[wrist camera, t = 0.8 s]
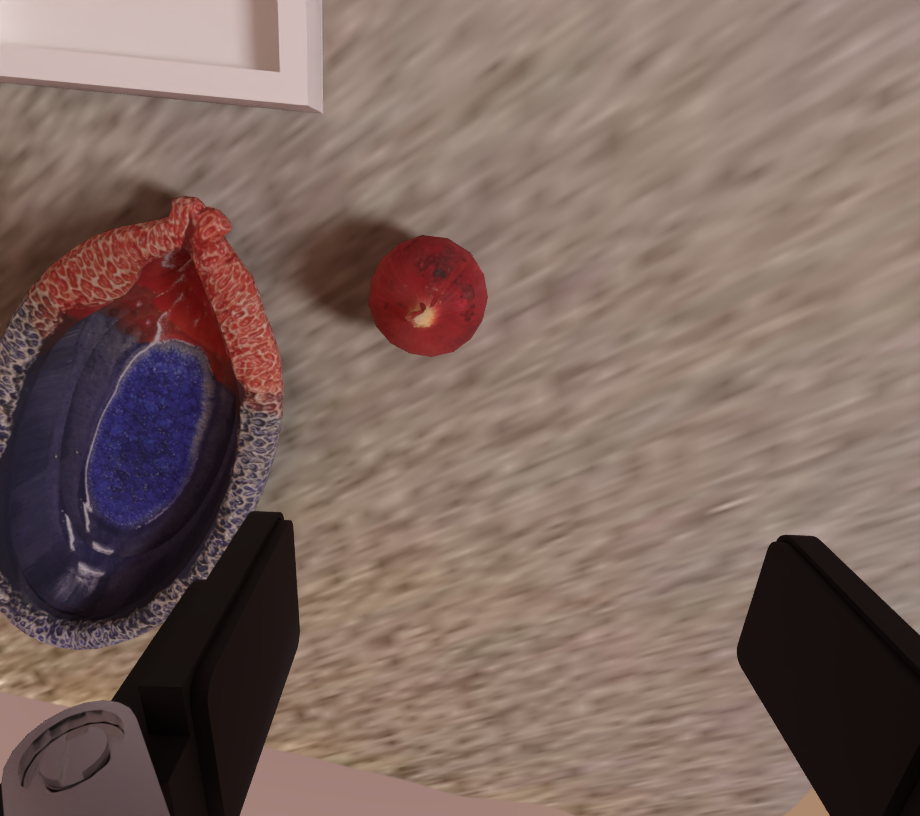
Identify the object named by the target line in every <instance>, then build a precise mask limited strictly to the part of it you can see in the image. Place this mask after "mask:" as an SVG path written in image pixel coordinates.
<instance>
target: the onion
mask: <svg viewBox="0 0 920 816" xmlns="http://www.w3.org/2000/svg"><path fill="white" fill-rule="evenodd" d="M487 299H488V296H487V290H486V284H485V278H484V274H483V272H482V271H481V269H480V267H479V266H478V264H477V263H476V261H475V259H474V258H473V256H472V255H471V253H470V252H468V251H467V250H465V249H464V248H462V247H461V246H459V245H457V244H456V243H454V242H453V241H451V240H450V239H448V238H441V237H433V236H424V235H421V236H419V237H416V238H413V239H410V240H407V241H404V242H402V243H399V244H398V245H397V246H396V247H395V248H393V249H392V250H391V251H390V252H389V253H388V254H387V255H386V256H384V257H383V258H382V259H381V261H380V263H379V265H378V267H377V269H376V271H375V273H374V276H373V278H372V280H371V286H370V296H369V308H370V311H371V313H372V316H373V319H374V321H375V324H376V327H377V328H378V329H379V330H380V331H381V333H382V334H383V335H384V336H385V337H386V338H387V339H388V340H389V342H390V343H391V344H393V345H395V346H397V347H399V348H401V349H403V350H404V351H406V352H408V353H411V354H417V355H423V356H430V357H433V356H437V355H441V354H446V353H450V352H454V351H455V350H456V349H458V348H459V347H460V346H462V345H463V344H465V343H466V342H467V341H469V340H470V339H471V338H472V336H473V335H474V333H475V331H476V330H477V328H478V327H479V325H480V324H481V322H482V319H483V316H484V311H485V307H486V303H487Z"/></svg>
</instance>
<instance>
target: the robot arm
mask: <svg viewBox="0 0 920 816" xmlns="http://www.w3.org/2000/svg"><path fill="white" fill-rule="evenodd" d="M299 635H300V625H299V610H298V594H297V578H296V562H295V547H294V531H293V523H292V521H291V520H284V517H283V514H282V513H281V512H262V511H251V512H250V513H249V514H248V515H247V516H246V518H245V520H244V521H243V523H242V524H241V526H240V527H239V529H238V531H237V532H236V534H235V535H234V537H233V538H232V540H231V541H230V543H229V545H228V546H227V548H226V549H225V551H224V552H223V554H222V555H221V557H220V559H219V560H218V562H217V563H216V565H215V566H214V568H213V569H212V571H211V573H210V574H209V576H208V577H207V579H206V580H201V579H197V580H195V581H193V582H192V583H191V584H190V585H189V587H188V588H187V589H186V591H185V592H184V594H183V595H182V597H181V598H180V600H179V601H178V602H177V604H176V605H175V607H174V608H173V610H172V611H171V613H170V614H169V616H168V617H167V619H166V620H165V622H164V623H163V625H162V626H161V628H160V629H159V631H158V632H157V634H156V635H155V636H154V638H153V639H152V641H151V642H150V644H149V645H148V647H147V648H146V650H145V651H144V653H143V654H142V656H141V657H140V659H139V660H138V662H137V663H136V665H135V666H134V668H133V669H132V671H131V672H130V673H129V675H128V676H127V678H126V679H125V681H124V682H123V684H122V685H121V687H120V688H119V690H118V691H117V693H116V694H115V696H114V697H113V699H112V700H111V701H105V700H101V701H94V702H87V703H83V704H80V705H77V706H74V707H71V708H68V709H66V710H63V711H62V712H60V713H58V714H56V715H54V716H53V717H51V718H49V719H47V720H45V721H44V722H43V723H41V724H40V725H39V726H37V728H35V729H34V730H32V731H31V732H30V733H29V734H27V736H25V738H24V739H23V740H22V741H21V742H20V743H19V744H18V746H17V747H16V748H15V749H14V750H13V751H12V753H11V755H10V757H9V759H8V761H7V763H6V764H5V766H4V769H3V776H2V783H1V784H0V816H240V813H241V810H242V807H243V804H244V801H245V798H246V795H247V792H248V789H249V787H250V784H251V781H252V778H253V775H254V772H255V769H256V766H257V763H258V761H259V758H260V755H261V752H262V749H263V746H264V743H265V740H266V737H267V735H268V732H269V729H270V726H271V723H272V720H273V717H274V714H275V711H276V709H277V706H278V703H279V700H280V697H281V694H282V691H283V688H284V685H285V682H286V680H287V677H288V674H289V671H290V668H291V665H292V662H293V659H294V656H295V654H296V651H297V647H298V642H299ZM737 657H738V661H739V664H740V666H741V668H742V670H743V671H744V673H745V675H746V676H747V678H748V680H749V681H750V683H751V685H752V686H753V688H754V690H755V691H756V693H757V695H758V696H759V698H760V700H761V701H762V703H763V705H764V706H765V708H766V710H767V711H768V713H769V715H770V716H771V718H772V720H773V721H774V723H775V725H776V726H777V728H778V730H779V731H780V733H781V735H782V736H783V738H784V740H785V741H786V743H787V745H788V746H789V748H790V750H791V751H792V753H793V755H794V756H795V758H796V760H797V761H798V763H799V765H800V766H801V768H802V770H803V771H804V773H805V775H806V776H807V778H808V780H809V781H810V783H811V785H812V786H813V788H814V790H815V791H816V793H817V795H818V796H819V798H820V800H821V801H822V803H823V805H824V806H825V808H826V810H827V811H828V813H829V815H830V816H920V635H919V634H918V633H917V632H916V631H915V630H914V629H913V628H911V627H910V626H909V625H908V624H907V623H906V622H905V621H904V620H903V619H902V618H901V617H900V616H899V615H898V614H897V613H896V612H895V611H894V610H893V609H892V608H891V607H890V606H888V605H887V604H886V603H885V602H884V601H883V600H882V599H881V598H880V597H879V596H878V595H877V594H876V593H875V592H874V591H873V590H872V589H871V588H870V587H869V586H868V585H866V584H865V583H864V582H863V581H862V580H861V579H860V578H859V577H858V576H857V575H856V574H855V573H854V572H853V571H852V570H851V569H850V568H849V567H848V566H847V565H846V564H845V563H843V562H842V561H841V560H840V559H839V558H838V557H837V556H836V555H835V554H834V553H833V552H832V551H831V550H830V549H829V548H828V547H827V546H826V545H825V544H824V543H823V542H822V541H820V540H819V539H818V538H816V537H814V536H801V535H782V536H780V537H779V538H778V539H777V541H776V542H772V543H771V544H770V545H769V547H768V550H767V553H766V556H765V559H764V563H763V566H762V569H761V572H760V575H759V578H758V582H757V585H756V588H755V591H754V594H753V598H752V601H751V604H750V607H749V610H748V613H747V617H746V620H745V623H744V626H743V629H742V633H741V636H740V639H739V642H738V646H737Z"/></svg>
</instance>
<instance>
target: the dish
mask: <svg viewBox="0 0 920 816" xmlns="http://www.w3.org/2000/svg"><path fill="white" fill-rule="evenodd" d="M231 230H232V225H231V223H230V221H229V219H228V218H227V217H226V216H225V215H224V214H223V213H222V212H221V211H220V210H217V209H214V208H212V207H205V205H204V203H203V202H202V201H200V200H199V199H198V198H196V197H187V196H181V197H178V198H176V199H173V200H172V209H171V213H170V216H169V217H166V218H162V219H158V220H154V221H149V222H144V223H139V224H134V225H128V226H122V227H118V228H115V229H113V230H110V231H107V232H104V233H101V234H98V235H95V236H94V237H92V238H90V239H88V240H87V241H85V242H83V243H81V244H80V245H78V246H76V247H74V248H73V249H72V250H70V251H69V252H68V253H67V254H65V255H64V256H63V257H61V258H60V259H59V260H57V261H56V262H55V263H54V264H52V265H51V266H50V267H49V268H48V269H47V271H46V272H45V273H44V274H43V275H42V276H41V277H40V278H39V279H38V280H37V281H36V282H35V283H34V284H33V285H32V286H31V288H30V289H29V291H28V292H27V294H26V295H25V297H24V298H23V300H22V301H21V303H20V304H19V306H18V307H17V309H16V310H15V312H14V313H13V315H12V317H11V319H10V321H9V323H8V325H7V327H6V329H5V331H4V333H3V335H2V337H1V339H0V611H1V612H2V613H3V614H4V615H5V616H6V617H7V619H8V620H9V621H10V622H11V623H12V624H13V625H15V626H16V627H17V628H19V629H20V630H21V631H23V632H24V633H25V634H27V635H28V636H30V637H32V638H34V639H36V640H38V641H40V642H42V643H45V644H49V645H52V646H55V647H59V648H66V649H75V650H82V649H97V648H102V647H106V646H111V645H115V644H118V643H121V642H124V641H127V640H129V639H132V638H135V637H138V636H140V635H142V634H144V633H146V632H148V631H150V630H152V629H154V628H156V627H157V626H159V625H160V624H162V623H163V622H165V620H166V619H167V617H168V616H169V614H170V613H171V611H172V610H173V608H174V607H175V605H176V604H177V602H178V601H179V600H180V598H181V597H182V595H183V594H184V592H185V591H186V589H187V588H188V587H189V585H190V584H191V583H192V582H193V581H195V580H197V579H201V580H206V579H207V577H208V576H209V574H210V573H211V571H212V569H213V568H214V566H215V565H216V563H217V562H218V560H219V559H220V557H221V555H222V554H223V552H224V551H225V549H226V548H227V546H228V545H229V543H230V541H231V540H232V538H233V537H234V535H235V534H236V532H237V531H238V529H239V527H240V526H241V524H242V523H243V521H244V520H245V518H246V516H247V515H248V514H249V513H250V512H251V511H255V509H256V507H257V504H258V502H259V499H260V497H261V494H262V492H263V489H264V487H265V484H266V482H267V479H268V476H269V473H270V469H271V466H272V463H273V460H274V457H275V453H276V450H277V445H278V440H279V435H280V429H281V424H282V416H283V396H284V383H283V374H282V366H281V357H280V353H279V350H278V347H277V343H276V340H275V337H274V334H273V331H272V328H271V326H270V323H269V321H268V318H267V316H266V313H265V311H264V308H263V304H262V300H261V297H260V293H259V290H258V288H257V286H256V283H255V281H254V278H253V276H252V275H251V273H250V272H249V271H248V269H247V268H246V266H245V265H244V264H243V262H242V261H241V260H240V258H239V257H238V256H237V254H236V253H235V251H234V250H233V248H232V247H231V246H230V244H229V243H228V241H227V240H226V238H225V237H224V236H225V234H226V233H228V232H229V231H231Z"/></svg>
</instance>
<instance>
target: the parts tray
mask: <svg viewBox="0 0 920 816" xmlns="http://www.w3.org/2000/svg"><path fill="white" fill-rule="evenodd" d="M0 82H3V83H13V84H24V85H34V86H44V87H55V88H65V89H75V90H86V91H96V92H106V93H117V94H127V95H137V96H148V97H158V98H168V99H179V100H189V101H199V102H210V103H220V104H230V105H241V106H251V107H261V108H272V109H282V110H292V111H303V112H313V113H323V41H322V0H0Z"/></svg>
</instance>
